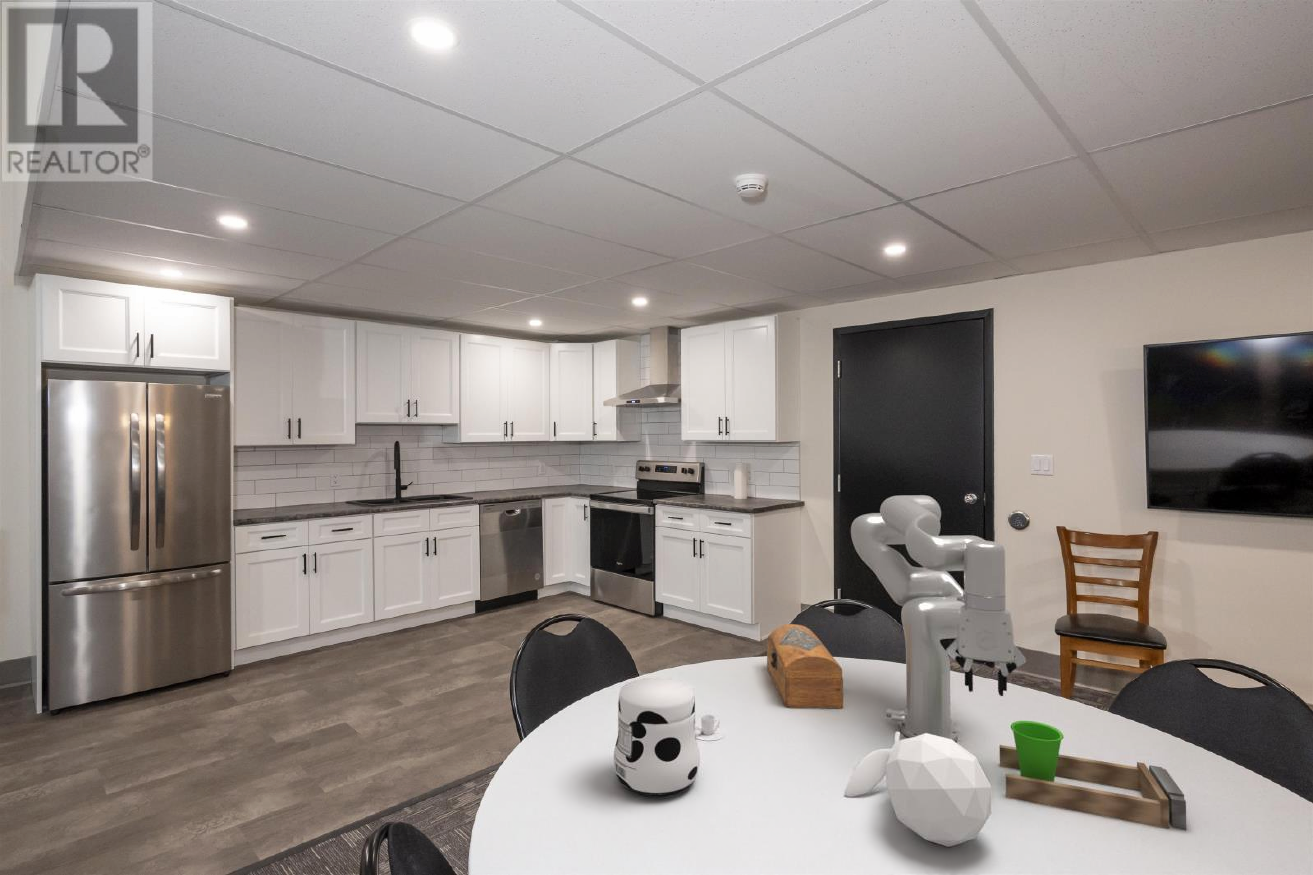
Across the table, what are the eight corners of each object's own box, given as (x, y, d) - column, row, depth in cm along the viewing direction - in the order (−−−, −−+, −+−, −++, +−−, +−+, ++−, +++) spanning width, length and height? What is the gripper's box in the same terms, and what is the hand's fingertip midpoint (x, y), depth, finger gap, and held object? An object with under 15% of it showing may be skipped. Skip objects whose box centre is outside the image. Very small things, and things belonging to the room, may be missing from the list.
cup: (1072, 800, 122) (1071, 742, 122) (1020, 795, 124) (1019, 738, 124) (1053, 777, 131) (1052, 722, 131) (1004, 772, 132) (1004, 718, 133)
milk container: (709, 767, 135) (709, 681, 135) (685, 811, 118) (685, 712, 119) (632, 754, 140) (632, 671, 141) (599, 794, 124) (599, 700, 124)
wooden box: (763, 669, 195) (763, 623, 196) (818, 669, 195) (818, 623, 195) (779, 709, 165) (779, 654, 166) (843, 709, 165) (843, 655, 165)
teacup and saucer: (682, 738, 149) (682, 720, 149) (693, 725, 156) (693, 708, 156) (719, 745, 146) (719, 727, 146) (728, 731, 153) (728, 713, 153)
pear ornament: (976, 741, 103) (899, 680, 131) (865, 828, 101) (811, 747, 129) (1035, 823, 103) (946, 745, 131) (925, 912, 101) (859, 813, 129)
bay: (1006, 797, 123) (1006, 769, 123) (999, 763, 136) (999, 738, 136) (1189, 832, 112) (1188, 801, 112) (1162, 791, 125) (1161, 763, 125)
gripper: (939, 602, 131) (940, 691, 131) (1035, 610, 125) (1036, 705, 124) (939, 594, 138) (939, 679, 138) (1029, 602, 131) (1030, 691, 131)
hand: (985, 690), depth 131 cm, fingers open, 4 cm apart
